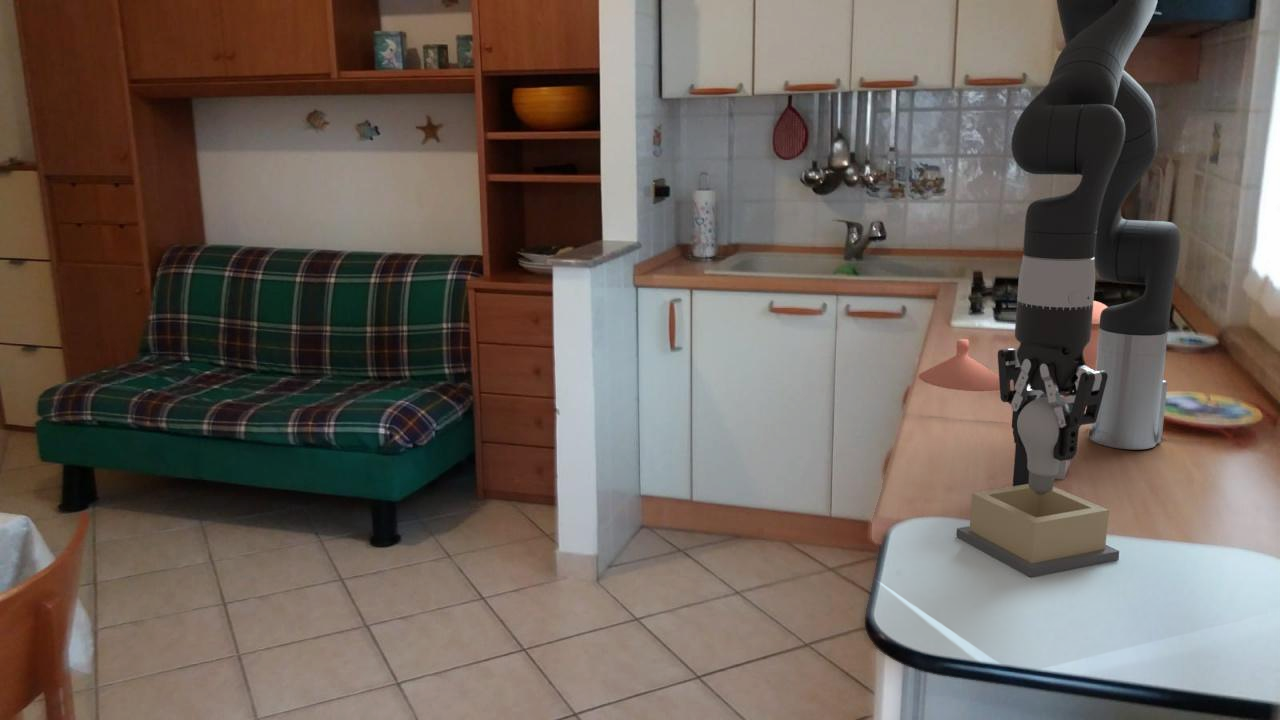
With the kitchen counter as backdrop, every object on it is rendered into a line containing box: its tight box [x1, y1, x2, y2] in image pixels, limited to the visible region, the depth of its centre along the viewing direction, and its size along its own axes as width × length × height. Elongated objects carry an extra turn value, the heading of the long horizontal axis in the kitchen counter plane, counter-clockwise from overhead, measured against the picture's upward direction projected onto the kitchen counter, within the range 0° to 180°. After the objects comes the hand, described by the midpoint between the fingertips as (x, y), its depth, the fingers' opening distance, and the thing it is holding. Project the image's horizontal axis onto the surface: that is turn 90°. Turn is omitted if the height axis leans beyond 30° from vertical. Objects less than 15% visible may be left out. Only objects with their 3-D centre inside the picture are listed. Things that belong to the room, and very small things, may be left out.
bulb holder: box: [955, 484, 1120, 578], centre depth 114 cm, size 12×12×6 cm
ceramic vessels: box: [918, 300, 1108, 395], centre depth 182 cm, size 35×21×19 cm, turn 74°
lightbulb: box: [1017, 397, 1070, 495], centre depth 111 cm, size 6×6×11 cm
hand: (1042, 450), depth 112 cm, fingers closed on lightbulb, 5 cm apart
